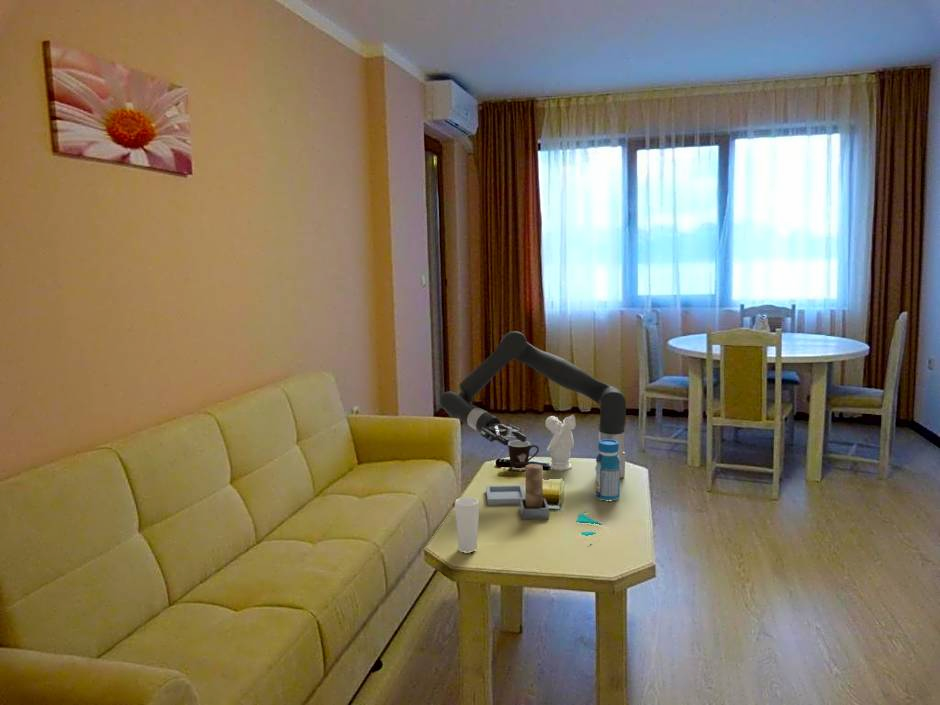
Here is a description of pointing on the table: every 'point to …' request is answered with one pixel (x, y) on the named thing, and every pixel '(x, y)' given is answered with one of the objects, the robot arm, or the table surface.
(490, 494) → the tray
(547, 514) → the holder cup
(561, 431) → the cherub figurine
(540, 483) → the canister
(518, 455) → the coffee mug
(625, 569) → the table surface
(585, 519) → the cloth
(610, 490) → the beverage bottle
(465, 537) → the drinking glass
